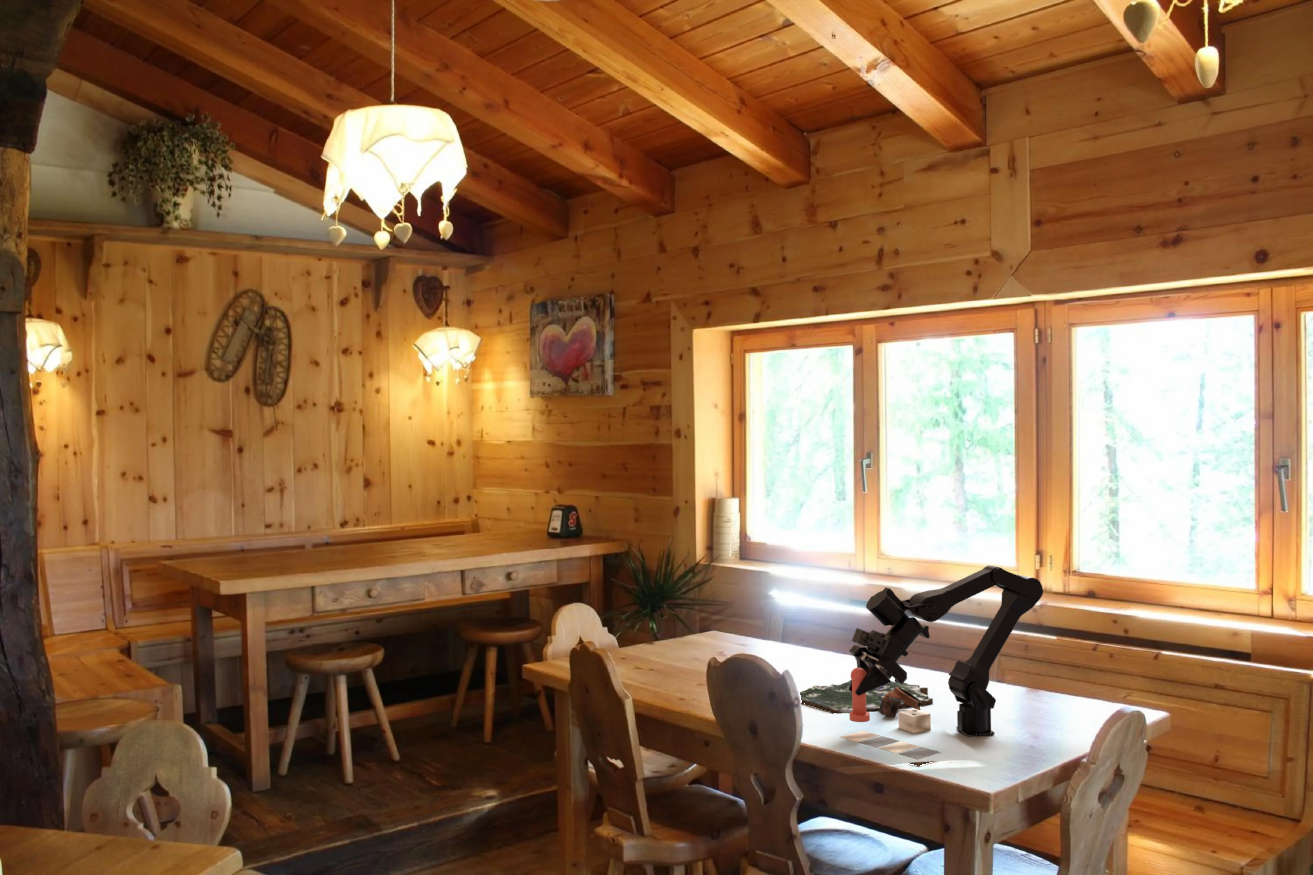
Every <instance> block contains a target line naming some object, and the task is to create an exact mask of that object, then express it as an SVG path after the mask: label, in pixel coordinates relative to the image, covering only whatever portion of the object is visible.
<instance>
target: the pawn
mask: <svg viewBox="0 0 1313 875" xmlns="http://www.w3.org/2000/svg"><path fill="white" fill-rule="evenodd" d="M866 674H867V673H866V671H865V670H864V669H862V668H857V667H855V668H853V669H852V670H851V671H850V680H852V703H853V711H852V712H850V713H849V721H851V722H854V723H867V722H870V720H871V718H870V717H871V714H870V713H871V712H866V693H864V694H861V695H859V696H858V695H857V694H856V693H855V691H856V689H857V688H858V686H859V685H860V683H861V682H862V680H863V679H864V677H865V676H866Z"/></svg>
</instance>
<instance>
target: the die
mask: <svg viewBox="0 0 1313 875" xmlns="http://www.w3.org/2000/svg"><path fill="white" fill-rule="evenodd" d="M931 718H932V717H931V713H930V712H926V711H923V710H921V709H920V710H917V709H914V708H913V709H906V710H900V711H898V728H899V729H902V730H904V731H907V732H910V733H913V734H915V733H920V732H925V731H931V728H932V726H931Z"/></svg>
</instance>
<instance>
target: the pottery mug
mask: <svg viewBox="0 0 1313 875" xmlns="http://www.w3.org/2000/svg"><path fill="white" fill-rule="evenodd" d="M901 700H903V703H905V704H907V705H909V706H912V707H911V708H913V709H917V710H920V711H921V707H922V706H921V704H922V702H921V701H920V700H919V699H917V698H916V697H915V696H913V695H912V694H910V693H909V692H907V691H905V690H903V689H901V688H899V687H895V689H894V690H893V691H890V692H888V693H887V694H886V695H885V696H884V697H883V699H882V702H881V704H880V707H879V712H878V713H880V714H882V715H883V716H884V715H885V716H886V717H890V718H895V717H896V715H897V712H899V710H900V709H899V708H900V706H901Z"/></svg>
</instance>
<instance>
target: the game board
mask: <svg viewBox="0 0 1313 875" xmlns="http://www.w3.org/2000/svg"><path fill="white" fill-rule="evenodd" d="M840 738H841V739H844V740H848V741H851V742H855V743H859V744H863V745H865V746H869V747H872V748H876V749H877V748H878V749H880V750H883V751H887V752H891V753H894V754H898V755H901V756H905V757H906V758H907V757H908V758H910V759H915V760H921V759H923V758H927V757H931V756H933V755H937V754H941V752H942V751H938V750H934V749H930V748H927V747H923V746H920V745H916V744H913V743H908V742H905V741H901V740H900V741H899V740H898V739H893V738H890V737H887V736H884V735H883V736H882V735H880V734H876V733H872V732H870V731H869V732H868V731H865V730H861V731H857V732H853V733H849V734H847V735H846V734H845V735H843V736H840ZM934 761H935V760H930V761H914V762H911V761H910V762H909V763H910V764H914V765H917V766H920V765H922V764H926V763H929V762H933V763H935V762H934ZM910 764H909V765H910ZM917 766H916V767H917Z"/></svg>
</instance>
